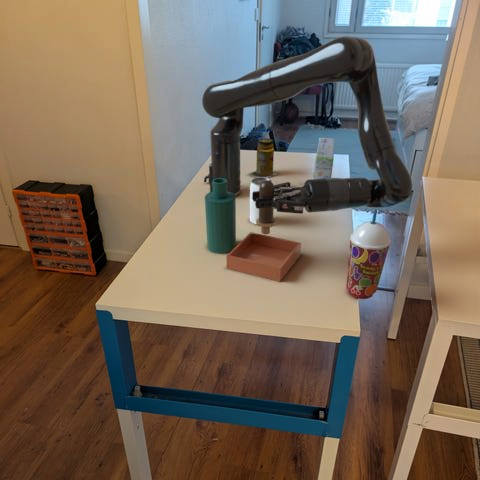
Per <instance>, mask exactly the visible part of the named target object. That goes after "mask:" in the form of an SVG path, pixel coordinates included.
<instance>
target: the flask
mask: <svg viewBox="0 0 480 480" xmlns="http://www.w3.org/2000/svg"><path fill="white" fill-rule="evenodd" d="M212 187H213V192H210V191H209V192H207V193H206V194H205V195H204V207H205V228H206V229H205V230H206V245H207V250H208V251H210V252H212V253H215V254H229V253H230V252H231V251H232V250H233V249H234V248H235V247H236V246H237V212H236V211H237V203H236V202H237V200H236V199H237V196H235V194H233V193H231V192H228V191H227V180H226V179H223V178H216V179H214V180H213V181H212Z"/></svg>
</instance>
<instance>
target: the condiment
mask: <svg viewBox="0 0 480 480" xmlns="http://www.w3.org/2000/svg"><path fill="white" fill-rule="evenodd" d="M274 155H275V148H274V140H273V139H272V138H266V137H265V138H264V137H263V138H259V139H258V141H257V148H256V171H252V172H249V173H248V174H247V175H249V176H250V177H253V178H254V179H255V178H268V179H269V178H271V177H274V176H276V175H278V173H277V172H274Z"/></svg>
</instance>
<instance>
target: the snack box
mask: <svg viewBox="0 0 480 480" xmlns="http://www.w3.org/2000/svg"><path fill="white" fill-rule="evenodd" d="M334 156H335V138H330V137H319V138H318V142H317V148H316V154H315V162H314V169H313V179H324V178H332V175H333V167H334V159H335V157H334Z"/></svg>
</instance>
